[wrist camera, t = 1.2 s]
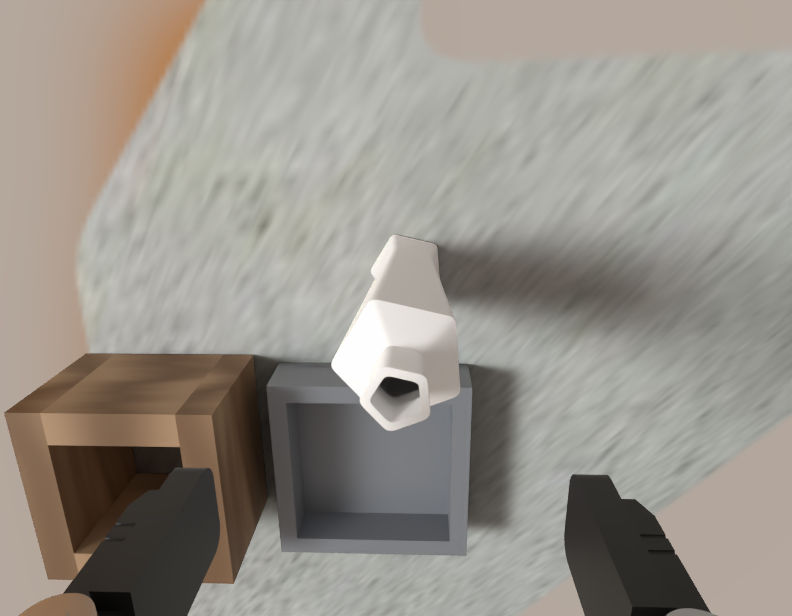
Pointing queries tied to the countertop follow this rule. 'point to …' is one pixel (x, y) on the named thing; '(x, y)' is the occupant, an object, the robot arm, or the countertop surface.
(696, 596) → the robot arm
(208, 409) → the wooden cubby box
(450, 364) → the perfume bottle
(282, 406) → the tray
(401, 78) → the countertop surface
